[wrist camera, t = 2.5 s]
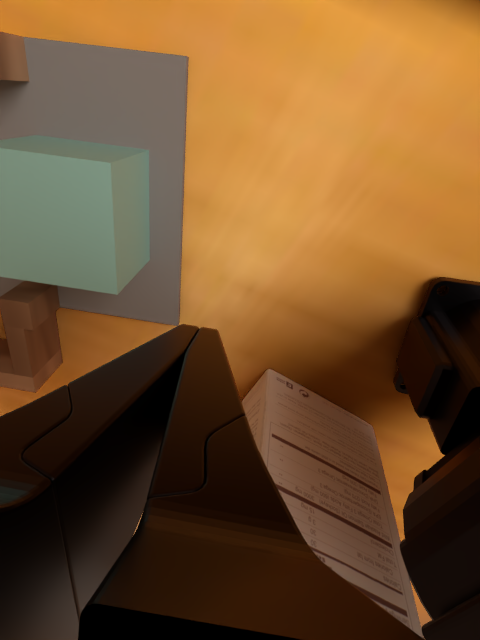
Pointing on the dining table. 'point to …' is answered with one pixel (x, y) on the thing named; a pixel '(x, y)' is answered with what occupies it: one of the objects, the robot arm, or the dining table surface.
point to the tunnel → (26, 287)
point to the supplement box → (333, 488)
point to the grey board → (120, 130)
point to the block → (73, 212)
